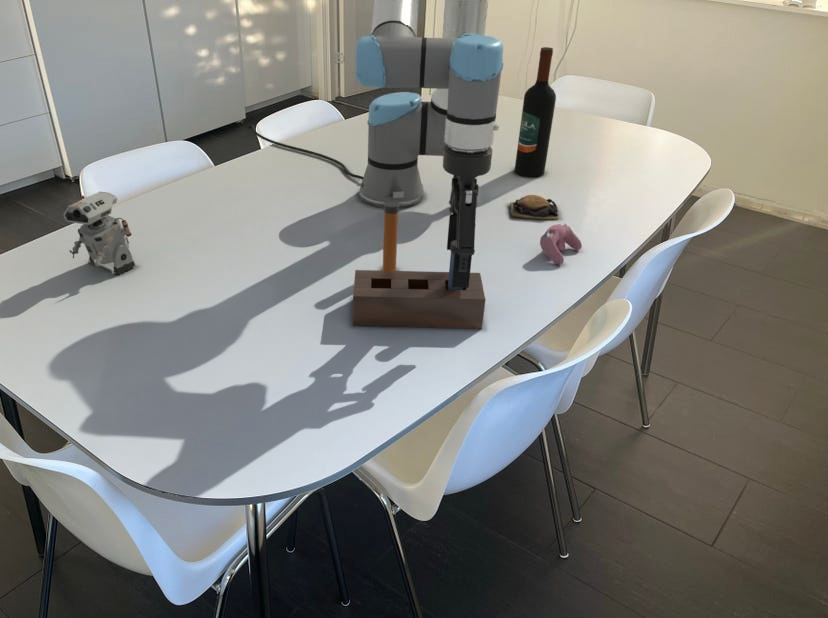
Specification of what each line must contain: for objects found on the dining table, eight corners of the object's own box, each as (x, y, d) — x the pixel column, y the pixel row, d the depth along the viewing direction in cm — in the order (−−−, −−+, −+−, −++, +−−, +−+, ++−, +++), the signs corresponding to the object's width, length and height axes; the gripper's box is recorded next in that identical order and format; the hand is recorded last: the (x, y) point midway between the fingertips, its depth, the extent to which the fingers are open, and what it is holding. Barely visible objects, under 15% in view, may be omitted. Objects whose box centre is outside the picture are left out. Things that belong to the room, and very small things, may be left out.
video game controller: (564, 251, 155) (555, 220, 153) (584, 248, 152) (575, 216, 150) (542, 268, 149) (533, 236, 147) (563, 265, 145) (553, 232, 143)
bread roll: (511, 219, 165) (513, 203, 163) (509, 203, 172) (511, 189, 170) (559, 221, 164) (562, 205, 162) (555, 205, 171) (558, 190, 169)
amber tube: (379, 270, 145) (380, 204, 137) (388, 265, 146) (390, 199, 138) (390, 275, 143) (392, 208, 135) (399, 270, 145) (402, 203, 137)
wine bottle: (546, 177, 185) (566, 52, 168) (516, 177, 185) (533, 52, 168) (541, 167, 191) (559, 45, 174) (512, 166, 191) (527, 44, 174)
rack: (355, 298, 136) (355, 269, 132) (476, 301, 135) (480, 272, 132) (352, 325, 128) (352, 296, 125) (481, 329, 127) (485, 299, 124)
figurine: (65, 273, 144) (47, 202, 135) (113, 252, 151) (99, 183, 143) (94, 287, 139) (77, 214, 131) (142, 265, 147) (129, 194, 138)
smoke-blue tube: (441, 314, 131) (447, 243, 123) (451, 308, 133) (457, 238, 125) (454, 319, 130) (461, 248, 122) (463, 313, 131) (471, 243, 123)
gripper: (502, 175, 103) (486, 304, 115) (484, 120, 124) (472, 235, 136) (449, 174, 104) (438, 303, 116) (440, 120, 124) (432, 234, 136)
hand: (457, 267), depth 126 cm, fingers open, 13 cm apart
